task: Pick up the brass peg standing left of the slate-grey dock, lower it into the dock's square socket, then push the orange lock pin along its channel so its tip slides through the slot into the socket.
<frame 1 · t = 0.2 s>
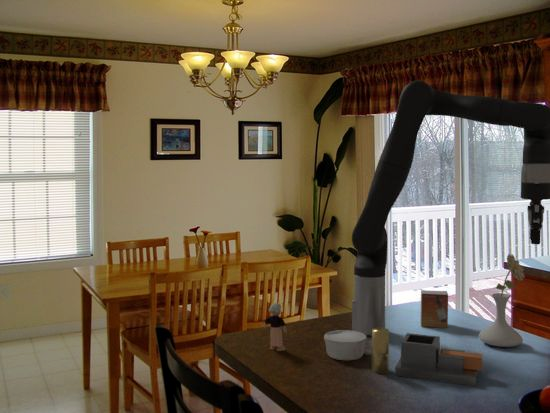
hand: (534, 242, 150), 29 cm above the kitchen island, tool pointing down, fingers open, 8 cm apart
dock: (437, 371, 136), on the kitchen island
brass peg: (380, 370, 137), on the kitchen island
ramekin: (345, 355, 149), on the kitchen island
grandmother figurine: (275, 349, 154), on the kitchen island
small box: (433, 325, 176), on the kitchen island
lock pin: (461, 359, 133), point 4 cm above the kitchen island, slide at 0.0 cm
flower in vase: (502, 344, 157), on the kitchen island
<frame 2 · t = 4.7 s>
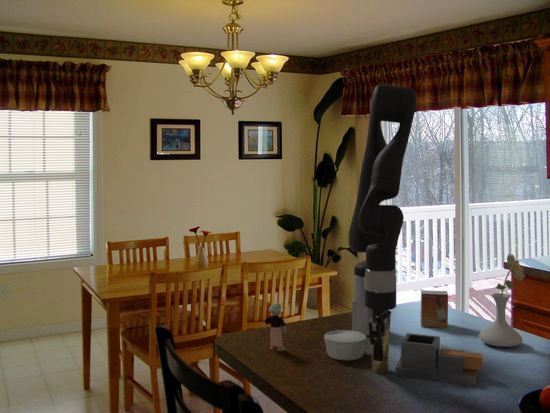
hand: (380, 357, 137), 3 cm above the kitchen island, tool pointing down, fingers closed on brass peg, 4 cm apart
brass peg: (380, 370, 137), on the kitchen island, touching gripper
everything else where it was.
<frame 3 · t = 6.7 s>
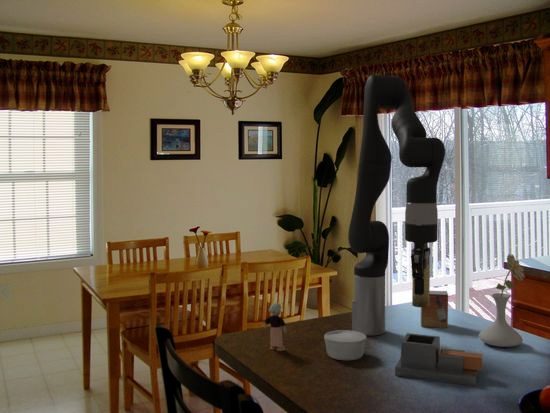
hand: (420, 292, 136), 19 cm above the kitchen island, tool pointing down, fingers closed on brass peg, 4 cm apart
brass peg: (420, 305, 136), point 16 cm above the kitchen island, touching gripper
everything else where it was.
when the fingers open (8 cm above the kitchen island, at t = 9.1 s): brass peg drops 2 cm, resting on dock.
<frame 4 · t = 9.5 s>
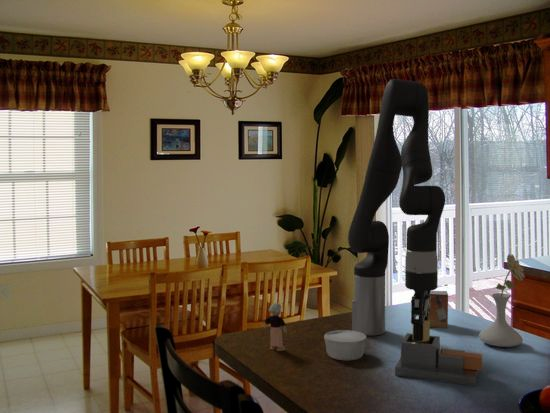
hand: (420, 335, 137), 8 cm above the kitchen island, tool pointing down, fingers open, 7 cm apart
brass peg: (420, 361, 137), point 2 cm above the kitchen island, touching dock
everything else where it was.
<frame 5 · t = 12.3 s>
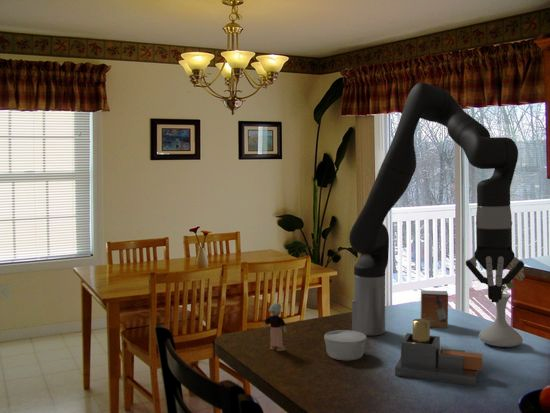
hand: (494, 301, 129), 18 cm above the kitchen island, tool pointing down, fingers closed
nothing on the kitchen island moved.
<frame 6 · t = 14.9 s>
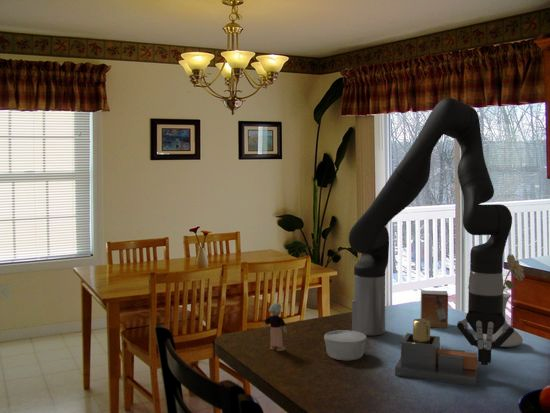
hand: (484, 363, 132), 3 cm above the kitchen island, tool pointing down, fingers closed
lock pin: (456, 359, 134), point 4 cm above the kitchen island, slide at 1.2 cm, touching gripper
everything else where it was.
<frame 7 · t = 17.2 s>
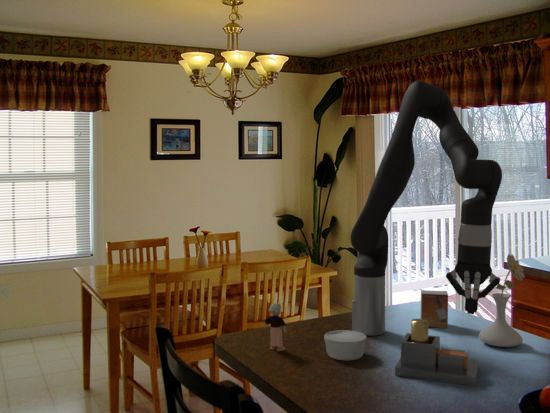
hand: (470, 313, 137), 14 cm above the kitchen island, tool pointing down, fingers closed
brass peg: (419, 361, 137), point 2 cm above the kitchen island, touching dock, lock pin
lock pin: (447, 358, 135), point 4 cm above the kitchen island, slide at 3.3 cm, touching brass peg
everything else where it was.
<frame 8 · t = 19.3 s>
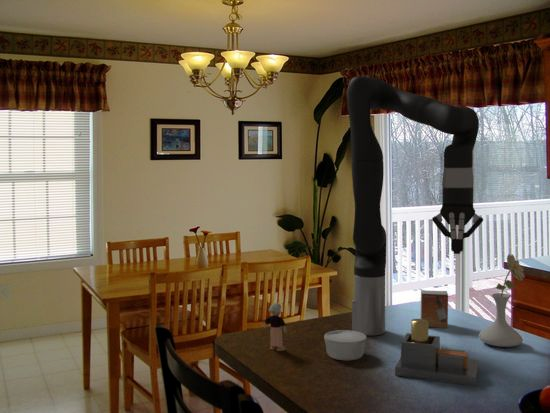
hand: (456, 253, 145), 27 cm above the kitchen island, tool pointing down, fingers closed
nothing on the kitchen island moved.
at the end: brass peg 0.3 cm from the target spot on the dock, point 2.0 cm above the dock's base; brass peg tilted 0°; lock pin slide at 3.3 cm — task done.
